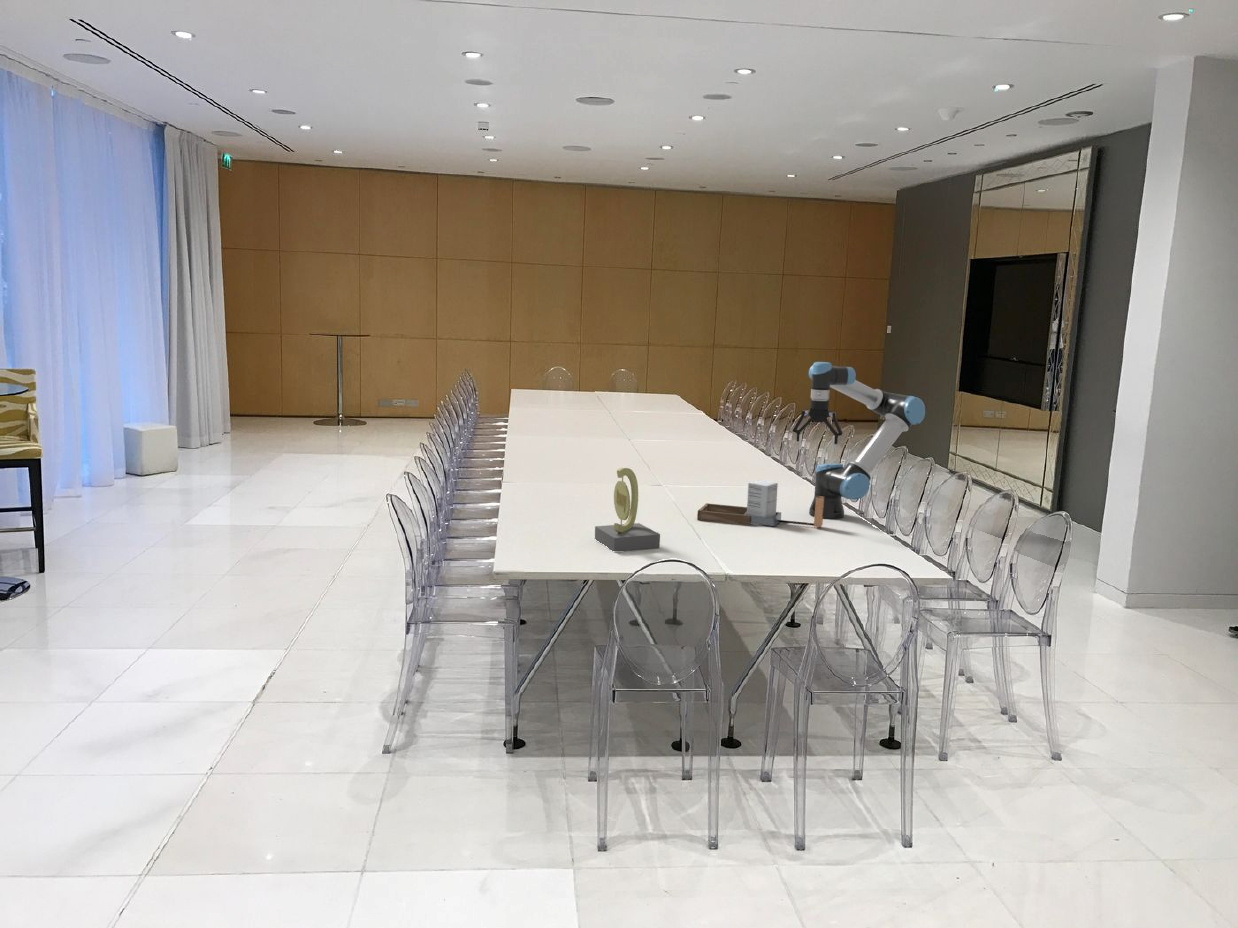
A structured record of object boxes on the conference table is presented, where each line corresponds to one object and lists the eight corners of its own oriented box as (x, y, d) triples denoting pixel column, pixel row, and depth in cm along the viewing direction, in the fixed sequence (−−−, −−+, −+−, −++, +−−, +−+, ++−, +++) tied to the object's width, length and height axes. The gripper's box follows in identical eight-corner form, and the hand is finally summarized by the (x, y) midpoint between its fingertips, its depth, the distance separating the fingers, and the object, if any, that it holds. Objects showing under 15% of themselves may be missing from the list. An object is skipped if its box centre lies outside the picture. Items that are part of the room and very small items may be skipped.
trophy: (594, 540, 384) (596, 463, 379) (638, 536, 391) (641, 461, 386) (614, 552, 367) (616, 472, 362) (659, 548, 375) (662, 470, 370)
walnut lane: (705, 512, 438) (706, 503, 437) (756, 517, 432) (757, 508, 431) (697, 520, 422) (697, 510, 422) (749, 525, 416) (750, 516, 415)
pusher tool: (748, 516, 431) (749, 487, 429) (823, 523, 422) (825, 494, 419) (742, 522, 418) (743, 493, 416) (820, 530, 409) (822, 500, 407)
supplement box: (757, 517, 429) (759, 479, 426) (776, 521, 424) (778, 482, 421) (745, 521, 422) (747, 482, 419) (764, 525, 416) (766, 485, 413)
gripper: (788, 398, 411) (784, 449, 415) (849, 402, 404) (846, 454, 408) (790, 397, 418) (787, 446, 422) (851, 400, 411) (847, 451, 415)
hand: (816, 450), depth 415 cm, fingers open, 13 cm apart
